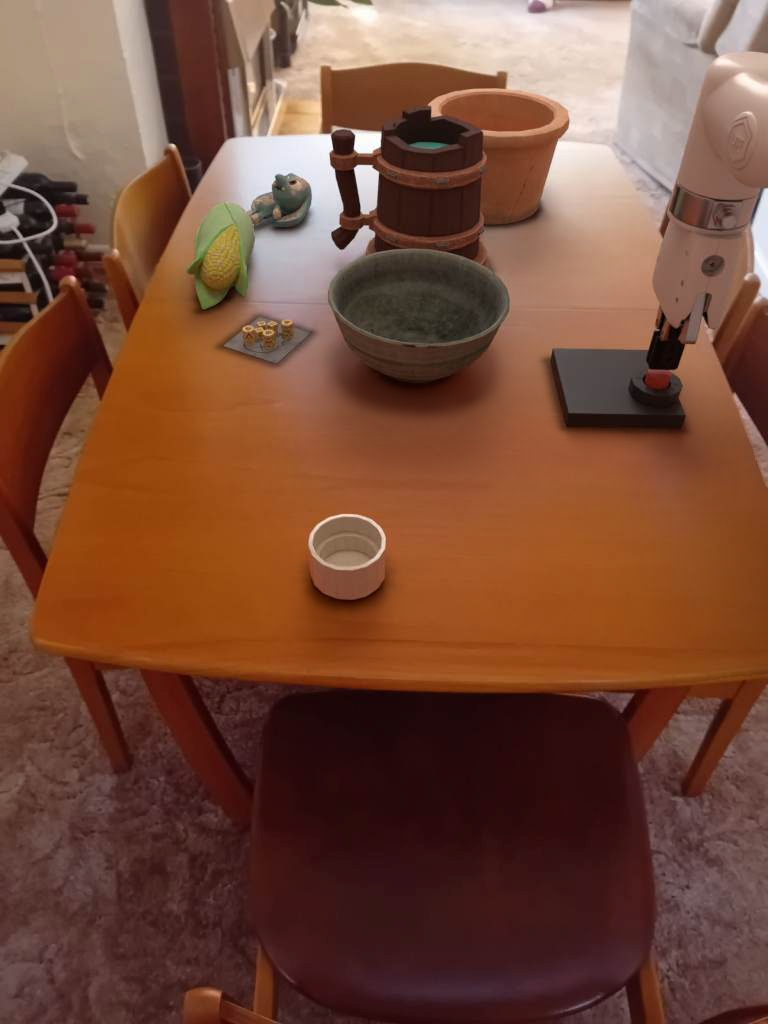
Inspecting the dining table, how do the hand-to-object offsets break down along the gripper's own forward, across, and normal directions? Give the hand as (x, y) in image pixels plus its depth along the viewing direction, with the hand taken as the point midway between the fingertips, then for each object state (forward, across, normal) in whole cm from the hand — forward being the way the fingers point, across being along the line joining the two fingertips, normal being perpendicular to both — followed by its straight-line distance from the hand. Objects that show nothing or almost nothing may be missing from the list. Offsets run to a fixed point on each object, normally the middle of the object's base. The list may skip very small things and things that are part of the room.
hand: (661, 365), depth 88 cm
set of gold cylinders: (+6, +12, +46) cm, 48 cm away
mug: (+6, +32, +27) cm, 42 cm away
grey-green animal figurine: (+6, +48, +48) cm, 68 cm away
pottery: (+6, +55, +14) cm, 57 cm away
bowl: (+6, +8, +27) cm, 29 cm away
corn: (+6, +29, +54) cm, 61 cm away
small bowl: (+5, -27, +34) cm, 43 cm away
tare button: (+2, 0, 0) cm, 2 cm away
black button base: (+6, +2, +4) cm, 7 cm away
